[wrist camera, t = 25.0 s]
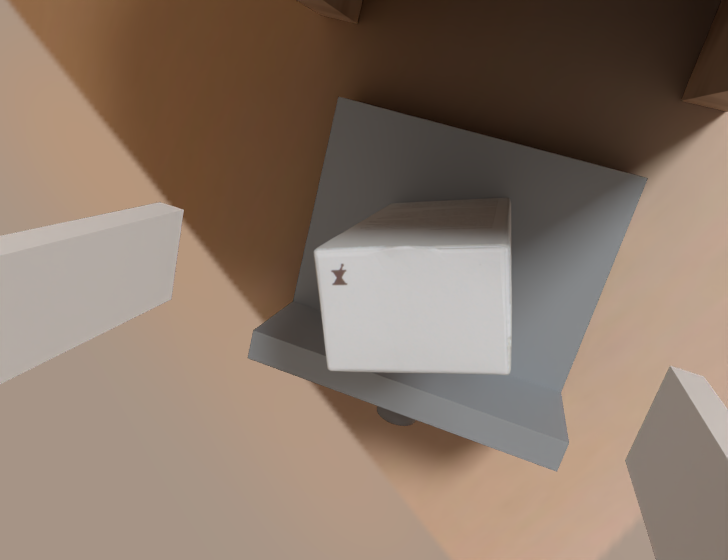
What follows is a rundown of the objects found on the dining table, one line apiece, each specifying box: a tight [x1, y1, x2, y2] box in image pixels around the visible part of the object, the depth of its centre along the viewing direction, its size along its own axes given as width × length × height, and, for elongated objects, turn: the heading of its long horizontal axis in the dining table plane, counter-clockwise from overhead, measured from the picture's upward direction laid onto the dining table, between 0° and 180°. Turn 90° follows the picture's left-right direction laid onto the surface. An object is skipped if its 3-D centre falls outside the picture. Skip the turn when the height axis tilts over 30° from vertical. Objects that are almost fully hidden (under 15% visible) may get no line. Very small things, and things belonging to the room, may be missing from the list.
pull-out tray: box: [248, 97, 648, 471], centre depth 27 cm, size 14×15×6 cm
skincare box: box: [313, 198, 512, 375], centre depth 23 cm, size 6×4×12 cm
